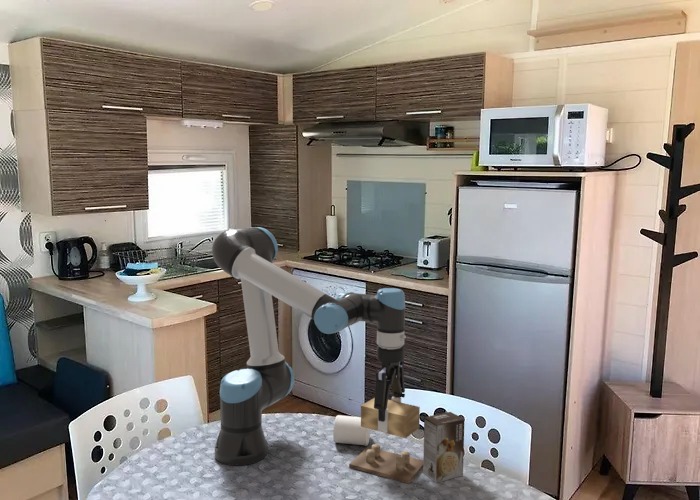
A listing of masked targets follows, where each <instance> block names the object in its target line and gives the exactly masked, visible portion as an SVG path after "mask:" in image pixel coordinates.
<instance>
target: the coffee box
mask: <svg viewBox="0 0 700 500" xmlns="http://www.w3.org/2000/svg"><path fill="white" fill-rule="evenodd" d="M423 423H424V424H423V458H422V460H423V468H422V470H423V471H422V473H423V474H424V475H425V476H427V477H428V478H429V479H430V480H432V481H433V482H434V483H436V484H437V483H440V482H444V481H448V480H451V479H456V478H459V477H462V476H464V454H465V453H464V448H465V418H463V417H460V416H459V415H457V413H456V414H455V413H454V412H452V411H447V412H443V413H438V414H433V415H428V416H425V417H423Z"/></svg>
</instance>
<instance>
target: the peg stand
mask: <svg viewBox="0 0 700 500" xmlns="http://www.w3.org/2000/svg"><path fill="white" fill-rule="evenodd" d="M348 468H350V469H354V470H358V471H362V472H366V473H369V474H373V475H377V476H381V477H383V478H387V479H391V480H395V481H398V482H402V483H406V484H409V485H410V484H411V483H412V482H413V481H414V479H415V478H416V477H417V476H418V475H419V473H420V472H421V470H423V459H420V458H419V459H418V458H416V457H412V456H411V453H410V451H406V450H404V451H401V452H400V454H399V453H395V452H391V451H387V450H382V449H381V445H380V444H378V443H375V444H372V445H371V447H370V446H366V448H365V449H364V450H362V451H361V453H359V454H358V455H357V456H356V457H355V458H354V459H353V460H352V461H350V462H349V464H348Z"/></svg>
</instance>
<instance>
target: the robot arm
mask: <svg viewBox="0 0 700 500" xmlns="http://www.w3.org/2000/svg"><path fill="white" fill-rule="evenodd" d="M278 251H279V247H278V242H277V239H276V238H275V236H274V235H273V233H272V232H270V231H269V230H268V229H266V228H264V227H259V226H257V227H256V226H255V227H254V226H253V227H252V226H250V227H243V228H236V229H228V230H225V231H223V232H221V233H220V234H218V235H217V237H216V238H215V239H214V242H213V243H212V248H211V253H212V258H213V261H214V262H215V264H216V265H217V267H219V268H220V269H221V270H222V271H223V272H225V273H226V274H228V275H230V276H231V277H233V278H234V279H236V280H239V279H240V284H241V290H242V298H243V307H244V312H245V315H244V316H245V321H246V328H247V329H246V330H247V337H248V344H249V353H250V357H249V359H248V360H247V361H246V368H239V370H238V369H237V370H236V369H235V370H233V371H231V372H228V373H227V374H225V375H224V376H223V377H222V379H221V381H220V387H219V407H220V408H219V409H220V410H219V411H220V429H219V434H218V436H217V438H216V442H215V446H214V457H215V459H216V460H217V461H218V462H219V463H221V464H224V465H228V466H246V465H247V466H248V465H250V464H255V463H257V462H260V461H262V460H263V459H265V458H266V456H267V455H268V452H269V447H268V446H269V445H268V441H267V439H266V435H265V432H264V430H263V426H262V424H263V423H262V422H263V421H262V419H263V418H262V417H263V416H262V413H263V412H262V411H263V410H265V409H266V408H268V407H270V406H272V405H274V404H277V402H279V401H282V400H283V399H284V398H285V397H286V396H288V395H289V394H290V392H291V391H292V389H293V388H294V383H295V374H294V370H293V368H292V366H289V363H288V362H286V360H285V359H286V358H285V356H284V355H283V354H281V353H280V352H279V344H278V336H277V327H276V321H275V320H276V319H275V313H274V304H273V297H274V298H275V299H278V300H279V301H281V302H283V303H285V304H286V305H288V306H290V307H292V308H293V309H295V310H297V311H299V313H302V314H303V315H305V316H307V317H308V318H310V319H312V320H314V324H315V326H316V328H317V329H318V331H320V332H321V333H323V334H327V335H331V334H336V333H339V332H341V331H343V330H344V329H346V328H348V327H350V326H353V325H355V324H357V323H359V322H365V323H374V324H375V323H376V344H377V346H376V360H378V361H379V362H380V363H381V367H380V371H376V372H375V381H376V382H375V389H374V390H375V392H374V398H375V400H374V409H378V431H377V432H378V433H379V432H381V433H383V432H384V434H387V433H388V409H387V404H388V400H389V397H390V393H391V392H390V391H392V396H391V399H390V400H392V401H396V402H400V403H402V399H403V398H405V396H406V394H405V392H406V387H405V373H404V372H405V371H404V370H405V369H404V365H405V346H404V345H405V339H407V335H405V329H406V328H405V322H406V296H405V292H404V291H403V290H402V289H399V288H396V287H395V288H394V287H384V288H383V287H382V288H379V289H378V290H377V293H376V295H375V294H367V293H356V292H352V291H351V292H346V291H345V292H340V293H339V294H338V296H337V297H336V298H334V297H332V296H331V295H329V294H327V293H326V292H324V291H322V290H320V289H319V288H317V287H315V286H313V285H311V284H310V283H309V282H307V281H304V280H303V279H301V278H299V277H297V276H295V275H294V274H292V273H290V272H288V271H286V270H285V269H284V268H281V267H279V266H277V265H276V264H274V263H273V262H274V260H275V259H276V256H277V255H278Z"/></svg>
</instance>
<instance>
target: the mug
mask: <svg viewBox="0 0 700 500" xmlns="http://www.w3.org/2000/svg"><path fill="white" fill-rule="evenodd" d="M333 422H334V423H333V430H332V431H333V434H332V435H333V441H334V442H333V443H339V444H348V445H358V446H365V447H368V445H369V442H370V436H371V429H368V428H365V427H361V416H360V417H359V416H352V415H351V416H350V415H341V414H338V415H336V416H335V420H334V421H333Z"/></svg>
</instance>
